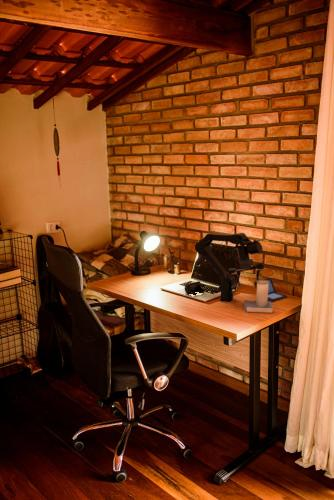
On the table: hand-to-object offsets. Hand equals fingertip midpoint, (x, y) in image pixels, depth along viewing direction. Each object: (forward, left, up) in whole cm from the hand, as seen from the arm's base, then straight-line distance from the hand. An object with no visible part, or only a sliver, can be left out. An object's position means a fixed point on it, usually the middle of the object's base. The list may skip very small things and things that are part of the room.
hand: (248, 285), depth 249 cm
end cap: (-33, +11, -13) cm, 37 cm away
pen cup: (+8, -2, -9) cm, 12 cm away
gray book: (+6, -1, -12) cm, 14 cm away
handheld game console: (+9, +23, -13) cm, 27 cm away
